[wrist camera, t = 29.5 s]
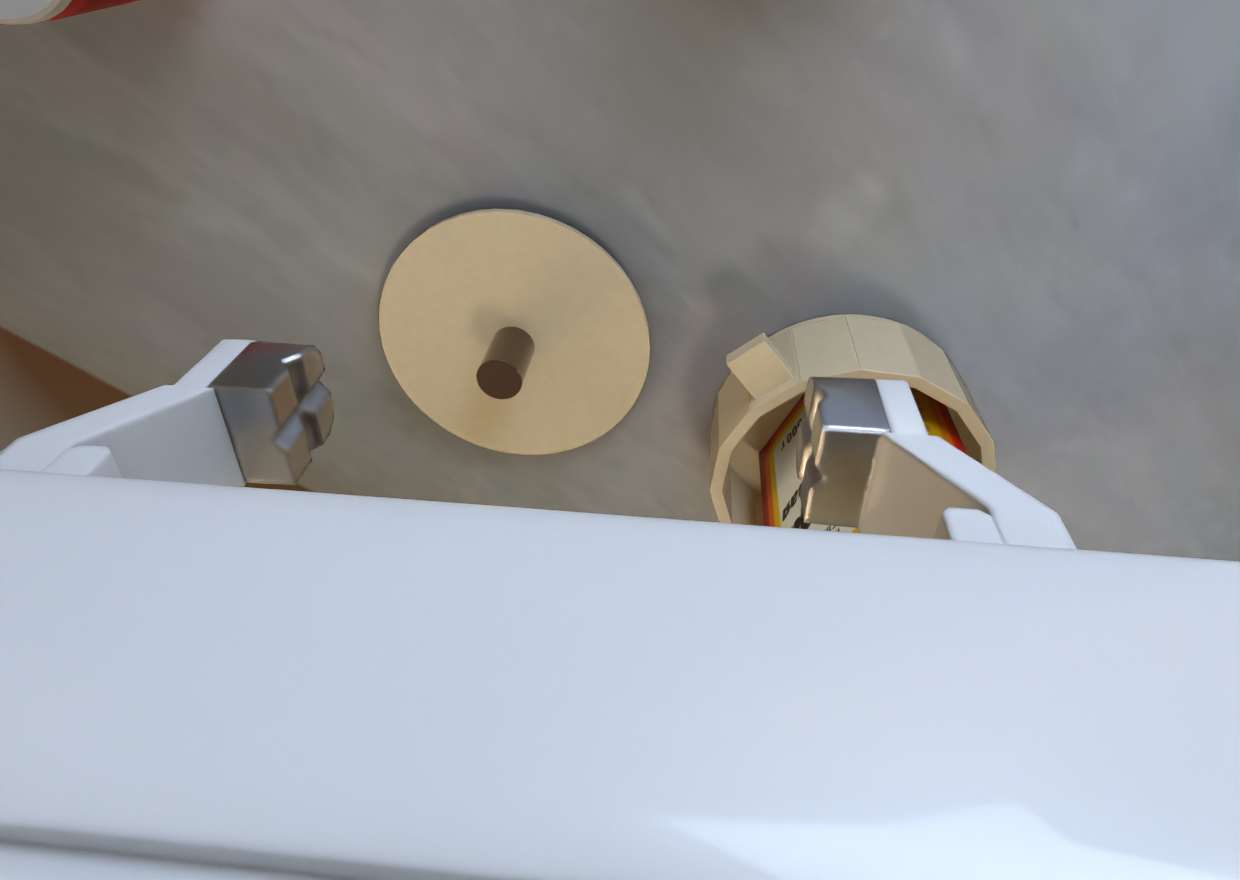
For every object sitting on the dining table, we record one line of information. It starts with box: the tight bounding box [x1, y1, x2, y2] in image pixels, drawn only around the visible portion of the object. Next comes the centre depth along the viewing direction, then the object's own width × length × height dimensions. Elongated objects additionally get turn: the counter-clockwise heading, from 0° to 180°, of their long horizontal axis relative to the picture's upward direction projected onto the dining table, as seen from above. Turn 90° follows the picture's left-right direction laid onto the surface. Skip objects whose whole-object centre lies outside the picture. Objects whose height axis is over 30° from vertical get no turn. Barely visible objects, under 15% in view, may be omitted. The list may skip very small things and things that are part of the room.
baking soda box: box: [758, 388, 968, 533], centre depth 42 cm, size 10×6×16 cm
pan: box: [710, 314, 996, 526], centre depth 47 cm, size 15×21×6 cm
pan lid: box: [379, 209, 650, 455], centre depth 46 cm, size 16×16×5 cm
